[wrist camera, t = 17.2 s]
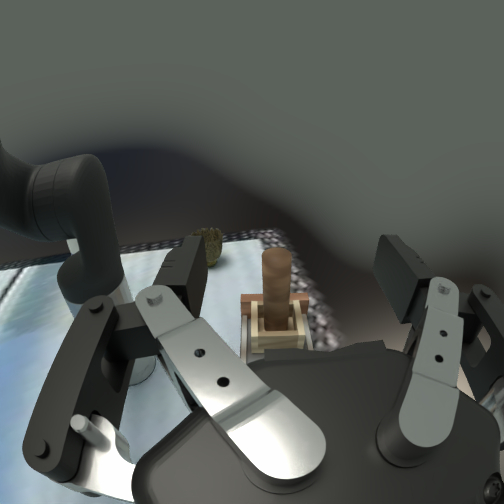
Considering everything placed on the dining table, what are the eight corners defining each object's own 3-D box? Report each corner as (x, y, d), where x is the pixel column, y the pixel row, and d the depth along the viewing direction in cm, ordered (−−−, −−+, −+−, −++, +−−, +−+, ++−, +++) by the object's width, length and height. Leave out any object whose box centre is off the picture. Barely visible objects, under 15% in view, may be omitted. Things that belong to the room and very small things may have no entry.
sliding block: (302, 351, 41) (305, 334, 39) (251, 353, 41) (251, 336, 39) (296, 317, 48) (298, 300, 46) (251, 318, 48) (251, 301, 46)
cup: (228, 269, 64) (225, 238, 60) (196, 275, 63) (192, 244, 58) (221, 253, 70) (218, 225, 66) (192, 258, 69) (188, 229, 65)
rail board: (321, 409, 33) (329, 390, 31) (238, 413, 34) (236, 395, 31) (304, 315, 51) (307, 292, 48) (242, 316, 51) (240, 294, 48)
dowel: (259, 328, 45) (255, 257, 37) (273, 314, 47) (273, 244, 40) (278, 339, 42) (280, 267, 35) (292, 324, 45) (296, 253, 38)
